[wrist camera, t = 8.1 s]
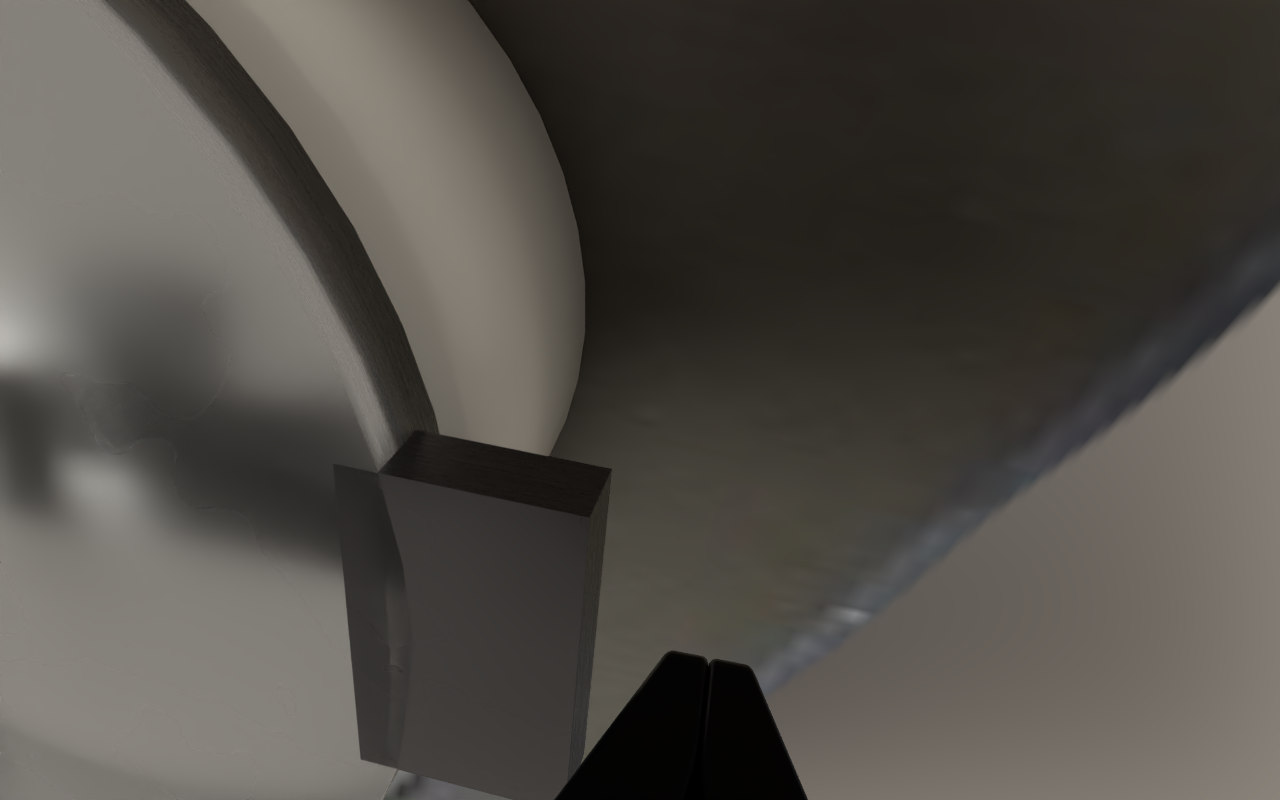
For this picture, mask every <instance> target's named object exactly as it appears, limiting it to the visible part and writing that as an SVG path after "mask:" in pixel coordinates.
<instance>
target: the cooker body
mask: <svg viewBox="0 0 1280 800" xmlns="http://www.w3.org/2000/svg"><path fill="white" fill-rule="evenodd" d="M186 1H187V2H188V3H189V4H190V5H191V6H192V8H193V9H194V10H195V11H196V12H197V13H198V14H199V15H200V16H201V17H202V18H203V19H204V20H205V21H206V22H207V23H208V24H209V25H210V26H211V27H212V29H213V30H214V31H215V32H216V34H217V35H218V36H219V37H220V39H221V40H222V41H223V42H224V44H225V45H226V46H227V48H228V49H229V50H230V51H231V53H232V54H233V55H234V56H235V58H236V59H237V60H238V62H239V63H240V64H241V65H242V67H243V68H244V69H245V70H246V72H247V73H248V74H249V76H250V77H251V78H252V79H253V81H254V82H255V83H256V84H257V86H258V87H259V88H260V90H261V91H262V92H263V93H264V95H265V96H266V97H267V98H268V100H269V101H270V102H271V103H272V105H273V106H274V107H275V109H276V110H277V111H278V112H279V114H280V115H281V116H282V117H283V119H284V120H285V121H286V123H287V124H288V125H289V126H290V128H291V129H292V131H293V132H294V134H295V135H296V137H297V139H298V140H299V142H300V143H301V145H302V146H303V148H304V150H305V151H306V153H307V154H308V156H309V157H310V159H311V161H312V162H313V164H314V165H315V167H316V168H317V170H318V172H319V173H320V175H321V176H322V178H323V179H324V181H325V183H326V184H327V186H328V187H329V189H330V190H331V192H332V194H333V195H334V197H335V198H336V200H337V201H338V203H339V205H340V206H341V208H342V209H343V211H344V212H345V214H346V216H347V217H348V219H349V220H350V222H351V223H352V225H353V226H354V228H355V230H356V232H357V234H358V236H359V238H360V240H361V242H362V244H363V246H364V248H365V250H366V252H367V254H368V256H369V258H370V260H371V262H372V264H373V266H374V268H375V270H376V272H377V274H378V276H379V278H380V280H381V282H382V284H383V286H384V288H385V290H386V292H387V294H388V296H389V298H390V300H391V302H392V304H393V306H394V308H395V310H396V312H397V314H398V316H399V318H400V320H401V322H402V325H403V327H404V330H405V333H406V336H407V338H408V341H409V344H410V347H411V349H412V352H413V355H414V358H415V360H416V363H417V366H418V368H419V371H420V374H421V377H422V379H423V382H424V385H425V388H426V390H427V393H428V396H429V399H430V401H431V404H432V407H433V410H434V412H435V416H436V420H437V425H438V429H439V433H440V434H441V435H446V436H451V437H456V438H460V439H465V440H470V441H475V442H480V443H485V444H490V445H495V446H500V447H505V448H510V449H515V450H520V451H525V452H530V453H535V454H540V455H544V456H549V455H550V453H551V451H552V449H553V447H554V445H555V443H556V441H557V438H558V436H559V434H560V432H561V430H562V428H563V426H564V424H565V422H566V419H567V415H568V412H569V409H570V405H571V402H572V399H573V395H574V392H575V389H576V385H577V382H578V378H579V371H580V364H581V357H582V350H583V344H584V337H585V278H584V270H583V263H582V255H581V248H580V240H579V233H578V227H577V223H576V219H575V216H574V212H573V208H572V204H571V201H570V197H569V193H568V189H567V185H566V182H565V178H564V174H563V171H562V169H561V166H560V164H559V161H558V159H557V156H556V154H555V151H554V149H553V146H552V144H551V141H550V139H549V136H548V134H547V131H546V129H545V126H544V124H543V121H542V119H541V116H540V114H539V112H538V110H537V109H536V107H535V105H534V103H533V101H532V99H531V98H530V96H529V94H528V92H527V90H526V88H525V87H524V85H523V83H522V81H521V79H520V77H519V75H518V74H517V72H516V70H515V68H514V66H513V64H512V63H511V61H510V59H509V57H508V56H507V55H506V53H505V52H504V50H503V49H502V47H501V46H500V45H499V43H498V42H497V40H496V39H495V37H494V36H493V35H492V33H491V32H490V30H489V29H488V28H487V26H486V25H485V23H484V22H483V20H482V19H481V18H480V16H479V15H478V13H477V12H476V10H475V9H474V8H473V6H472V5H471V3H470V2H469V1H468V0H186Z"/></svg>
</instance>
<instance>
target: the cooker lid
mask: <svg viewBox="0 0 1280 800" xmlns="http://www.w3.org/2000/svg"><path fill="white" fill-rule="evenodd" d="M611 472H612V469H609V468H604V467H599V466H594V465H589V464H584V463H579V462H574V461H569V460H564V459H559V458H554V457H549V456H544V455H540V454H535V453H530V452H525V451H520V450H515V449H510V448H505V447H500V446H495V445H490V444H485V443H480V442H475V441H470V440H465V439H460V438H456V437H451V436H446V435H441V434H440V433H439V429H438V425H437V420H436V416H435V412H434V410H433V407H432V404H431V401H430V399H429V396H428V393H427V390H426V388H425V385H424V382H423V379H422V377H421V374H420V371H419V368H418V366H417V363H416V360H415V358H414V355H413V352H412V349H411V347H410V344H409V341H408V338H407V336H406V333H405V330H404V327H403V325H402V322H401V320H400V318H399V316H398V314H397V312H396V310H395V308H394V306H393V304H392V302H391V300H390V298H389V296H388V294H387V292H386V290H385V288H384V286H383V284H382V282H381V280H380V278H379V276H378V274H377V272H376V270H375V268H374V266H373V264H372V262H371V260H370V258H369V256H368V254H367V252H366V250H365V248H364V246H363V244H362V242H361V240H360V238H359V236H358V234H357V232H356V230H355V228H354V226H353V225H352V223H351V222H350V220H349V219H348V217H347V216H346V214H345V212H344V211H343V209H342V208H341V206H340V205H339V203H338V201H337V200H336V198H335V197H334V195H333V194H332V192H331V190H330V189H329V187H328V186H327V184H326V183H325V181H324V179H323V178H322V176H321V175H320V173H319V172H318V170H317V168H316V167H315V165H314V164H313V162H312V161H311V159H310V157H309V156H308V154H307V153H306V151H305V150H304V148H303V146H302V145H301V143H300V142H299V140H298V139H297V137H296V135H295V134H294V132H293V131H292V129H291V128H290V126H289V125H288V124H287V123H286V121H285V120H284V119H283V117H282V116H281V115H280V114H279V112H278V111H277V110H276V109H275V107H274V106H273V105H272V103H271V102H270V101H269V100H268V98H267V97H266V96H265V95H264V93H263V92H262V91H261V90H260V88H259V87H258V86H257V84H256V83H255V82H254V81H253V79H252V78H251V77H250V76H249V74H248V73H247V72H246V70H245V69H244V68H243V67H242V65H241V64H240V63H239V62H238V60H237V59H236V58H235V56H234V55H233V54H232V53H231V51H230V50H229V49H228V48H227V46H226V45H225V44H224V42H223V41H222V40H221V39H220V37H219V36H218V35H217V34H216V32H215V31H214V30H213V29H212V27H211V26H210V25H209V24H208V23H207V22H206V21H205V20H204V19H203V18H202V17H201V16H200V15H199V14H198V13H197V12H196V11H195V10H194V9H193V8H192V6H191V5H190V4H189V3H188V2H187V1H186V0H0V800H383V798H384V796H385V794H386V792H387V791H388V789H389V787H390V785H391V783H392V782H393V780H394V778H395V776H396V774H397V772H398V771H399V770H402V771H406V772H410V773H414V774H418V775H421V776H425V777H429V778H433V779H437V780H440V781H444V782H448V783H452V784H456V785H459V786H463V787H467V788H471V789H475V790H478V791H482V792H486V793H490V794H494V795H497V796H501V797H505V798H509V799H513V800H554V799H555V798H556V797H557V795H558V794H559V793H560V791H561V790H562V789H563V787H564V786H565V785H566V783H567V782H568V781H569V779H570V778H571V777H572V775H573V774H574V773H575V772H576V770H577V769H578V768H579V766H580V765H581V762H582V759H583V756H584V751H585V740H586V730H587V720H588V710H589V699H590V689H591V679H592V668H593V658H594V648H595V637H596V627H597V617H598V606H599V596H600V586H601V575H602V565H603V555H604V545H605V534H606V524H607V514H608V503H609V493H610V483H611Z"/></svg>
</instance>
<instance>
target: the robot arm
mask: <svg viewBox="0 0 1280 800" xmlns="http://www.w3.org/2000/svg"><path fill="white" fill-rule="evenodd" d="M554 800H808V799H807V796H806V794H805V792H804V789H803V787H802V784H801V782H800V780H799V778H798V775H797V773H796V770H795V768H794V766H793V763H792V761H791V759H790V756H789V754H788V751H787V749H786V747H785V744H784V742H783V740H782V737H781V735H780V733H779V730H778V728H777V726H776V723H775V721H774V719H773V716H772V714H771V711H770V709H769V707H768V704H767V702H766V699H765V697H764V695H763V692H762V690H761V688H760V685H759V683H758V680H757V678H756V676H755V674H754V672H753V670H752V669H751V668H750V667H749V666H748V665H745V664H740V663H735V662H730V661H725V660H720V659H714V660H712V661H711V662H710V663H709V665H708V662H707V659H706V658H705V657H703V656H699V655H693V654H688V653H683V652H678V651H669V652H667V653H666V654H665V655H664V656H663V657H662V658H661V660H660V661H659V662H658V664H657V665H656V666H655V668H654V669H653V670H652V672H651V673H650V674H649V676H648V677H647V678H646V680H645V681H644V682H643V683H642V685H641V686H640V687H639V689H638V690H637V691H636V693H635V694H634V695H633V697H632V698H631V699H630V701H629V702H628V703H627V704H626V706H625V707H624V708H623V710H622V711H621V712H620V714H619V715H618V716H617V718H616V719H615V720H614V722H613V723H612V724H611V726H610V727H609V728H608V729H607V731H606V732H605V733H604V735H603V736H602V737H601V739H600V740H599V741H598V743H597V744H596V745H595V747H594V748H593V749H592V751H591V752H590V753H589V754H588V756H587V757H586V758H585V760H584V761H583V762H582V764H581V765H580V766H579V768H578V769H577V770H576V772H575V773H574V774H573V775H572V777H571V778H570V779H569V781H568V782H567V783H566V785H565V786H564V787H563V789H562V790H561V791H560V793H559V794H558V795H557V797H556V798H555V799H554Z"/></svg>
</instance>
